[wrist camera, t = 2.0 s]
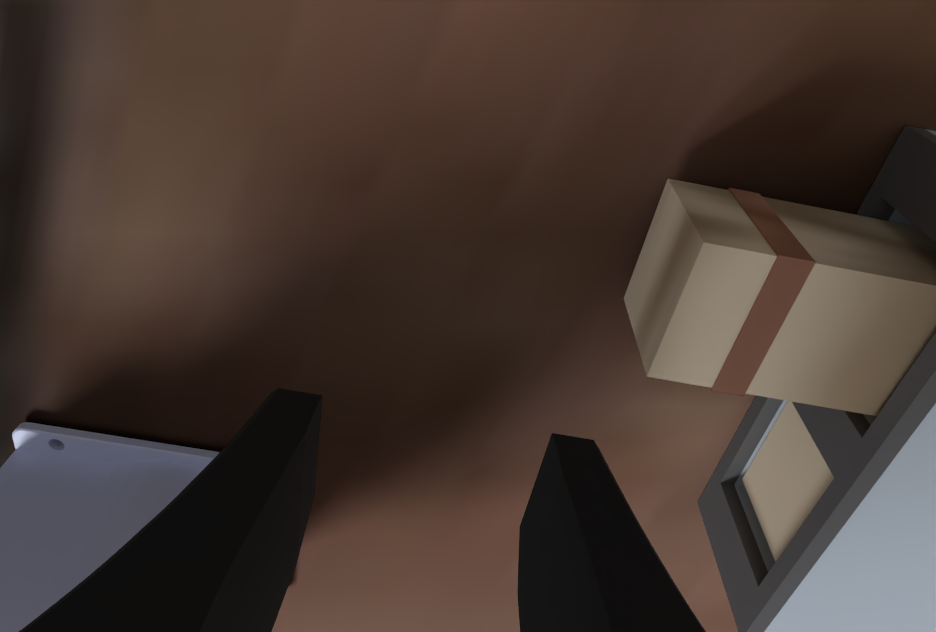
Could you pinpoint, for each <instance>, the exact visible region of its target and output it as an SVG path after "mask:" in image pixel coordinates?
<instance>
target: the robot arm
mask: <svg viewBox="0 0 936 632" xmlns="http://www.w3.org/2000/svg"><path fill="white" fill-rule="evenodd" d="M321 407H322V395H316V394H310V393H304V392H298V391H291V390H285V389H277V390H276V391H274V392H272V393H271V394H270V395H269V396H268V397H267V399H266V400H265V401H264V403H263V404H262V405H261V406H260V407H259V409H258V410H257V411H256V412H255V413H254V415H253V416H252V417H251V418H250V419H249V420H248V422H247V423H246V424H245V425H244V426H243V427H242V428H241V430H240V431H239V432H238V433H237V434H236V435H235V436H234V437H233V439H232V440H231V441H230V442H229V443H228V444H227V445H226V446H225V447H224V448H223V449H222V450H221V452H216V451H209V450H203V449H196V448H190V447H184V446H177V445H171V444H165V443H158V442H152V441H145V440H139V439H133V438H126V437H120V436H113V435H107V434H101V433H94V432H88V431H82V430H75V429H69V428H62V427H56V426H50V425H43V424H37V423H30V422H24V423H21V424H20V425H19V426H18V427H17V428H16V429H15V430H14V432H13V433H12V438H13V441H14V445H15V449H16V450H15V451H14V452H13V454H12V455H11V456H10V457H9V458H8V460H7V461H6V462H5V463H4V464H3V465H2V467H1V468H0V632H271V631H272V628H273V626H274V623H275V620H276V618H277V615H278V612H279V609H280V607H281V604H282V601H283V599H284V596H285V593H286V590H287V588H288V585H289V582H290V580H291V577H292V574H293V571H294V569H295V566H296V563H297V560H298V556H299V552H300V548H301V544H302V541H303V537H304V533H305V529H306V525H307V521H308V517H309V513H310V509H311V505H312V501H313V497H314V491H315V479H316V467H317V455H318V443H319V431H320V419H321ZM518 606H519V619H520V632H706V631H705V630H704V628H703V627H702V625H701V624H700V622H699V621H698V619H697V618H696V616H695V615H694V613H693V612H692V610H691V609H690V607H689V606H688V604H687V602H686V601H685V599H684V598H683V596H682V595H681V593H680V591H679V590H678V588H677V587H676V585H675V583H674V582H673V580H672V578H671V577H670V575H669V573H668V572H667V570H666V568H665V567H664V565H663V563H662V562H661V560H660V558H659V557H658V555H657V553H656V552H655V550H654V548H653V547H652V545H651V543H650V542H649V540H648V538H647V536H646V535H645V533H644V531H643V529H642V528H641V526H640V524H639V522H638V521H637V519H636V517H635V515H634V513H633V511H632V510H631V508H630V506H629V504H628V502H627V501H626V499H625V497H624V495H623V493H622V491H621V489H620V488H619V486H618V484H617V482H616V480H615V478H614V476H613V474H612V473H611V471H610V469H609V467H608V465H607V463H606V461H605V459H604V457H603V455H602V453H601V451H600V450H599V448H598V446H597V445H596V443H595V442H594V440H590V439H584V438H578V437H572V436H566V435H560V434H554V433H552V435H551V438H550V441H549V444H548V446H547V449H546V452H545V455H544V458H543V461H542V464H541V467H540V470H539V473H538V475H537V478H536V481H535V484H534V487H533V490H532V493H531V496H530V499H529V502H528V504H527V507H526V510H525V513H524V516H523V519H522V522H521V525H520V539H519V563H518Z"/></svg>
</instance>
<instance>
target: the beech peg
mask: <svg viewBox="0 0 936 632" xmlns="http://www.w3.org/2000/svg"><path fill="white" fill-rule="evenodd" d="M624 302H625V305H626V308H627V312H628V315H629V318H630V322H631V325H632V329H633V332H634V335H635V339H636V342H637V345H638V349H639V352H640V356H641V359H642V362H643V366H644V369H645V372H646V376H647V377H652V378H658V379H664V380H669V381H675V382H681V383H687V384H693V385H698V386H704V387H710V388H711V391H716V392H722V393H728V394H734V395H739V396H744V395H745V394H751V395H757V396H763V397H768V398H774V399H780V400H786V401H792V402H797V403H803V404H809V405H815V406H821V407H827V408H832V409H838V410H844V411H850V412H856V413H862V414H867V415H873V416H878V414H879V413H880V411H881V410H882V408H883V407H884V406H885V404H886V403H887V401H888V400H889V398H890V397H891V396H892V394H893V393H894V391H895V390H896V388H897V387H898V386H899V384H900V383H901V381H902V380H903V378H904V377H905V375H906V374H907V373H908V371H909V370H910V368H911V367H912V365H913V364H914V363H915V361H916V360H917V358H918V357H919V355H920V354H921V352H922V351H923V350H924V348H925V347H926V345H927V344H928V342H929V341H930V340H931V338H932V337H933V335H934V334H935V332H936V243H935V242H934V241H933V240H931V239H930V238H929V237H928V236H927V235H926V234H924V233H923V232H922V231H921V230H920V229H918V228H917V227H916V226H912V225H906V224H901V223H896V222H891V221H886V220H880V219H875V218H870V217H865V216H860V215H855V214H849V213H844V212H839V211H834V210H829V209H824V208H818V207H813V206H808V205H803V204H798V203H792V202H787V201H782V200H777V199H772V198H767V197H762V196H761V195H760V193H754V192H749V191H744V190H739V189H734V188H729V189H728V190H725V189H720V188H715V187H710V186H704V185H699V184H694V183H689V182H684V181H679V180H673V179H667V182H666V185H665V187H664V190H663V193H662V196H661V198H660V201H659V204H658V206H657V209H656V212H655V215H654V217H653V220H652V223H651V225H650V228H649V231H648V234H647V236H646V239H645V242H644V244H643V247H642V250H641V253H640V255H639V258H638V261H637V263H636V266H635V269H634V271H633V274H632V277H631V280H630V282H629V285H628V288H627V290H626V293H625V296H624Z"/></svg>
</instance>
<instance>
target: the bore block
mask: <svg viewBox="0 0 936 632" xmlns="http://www.w3.org/2000/svg"><path fill="white" fill-rule="evenodd" d="M856 215H860V216H865V217H870V218H875V219H880V220H886V221H891V222H896V223H901V224H906V225H912V226H916V227H917V228H918V229H920V230H921V231H922V232H923V233H924V234H926V235H927V236H928V237H929V238H930V239H931V240H933V241H934V242H935V243H936V131H933V130H928V129H923V128H918V127H913V126H908V125H905V126H904V128H903V130H902V132H901V134H900V135H899V137H898V139H897V141H896V143H895V145H894V146H893V148H892V150H891V152H890V154H889V155H888V157H887V159H886V161H885V163H884V165H883V166H882V168H881V170H880V172H879V174H878V175H877V177H876V179H875V181H874V183H873V184H872V186H871V188H870V190H869V192H868V194H867V195H866V197H865V199H864V201H863V203H862V204H861V206H860V208H859V210H858V212H857V214H856ZM698 505H699V508H700V512H701V515H702V518H703V521H704V524H705V527H706V530H707V534H708V537H709V540H710V543H711V546H712V549H713V553H714V556H715V559H716V562H717V565H718V568H719V571H720V575H721V578H722V581H723V584H724V587H725V590H726V593H727V597H728V600H729V603H730V606H731V609H732V612H733V615H734V619H735V622H736V625H737V628H738V631H739V632H936V332H935V334H934V335H933V337H932V338H931V340H930V341H929V342H928V344H927V345H926V347H925V348H924V350H923V351H922V352H921V354H920V355H919V357H918V358H917V360H916V361H915V363H914V364H913V365H912V367H911V368H910V370H909V371H908V373H907V374H906V375H905V377H904V378H903V380H902V381H901V383H900V384H899V386H898V387H897V388H896V390H895V391H894V393H893V394H892V396H891V397H890V398H889V400H888V401H887V403H886V404H885V406H884V407H883V408H882V410H881V411H880V413H879V414H878V416H873V415H867V414H862V413H856V412H850V411H844V410H838V409H832V408H827V407H821V406H815V405H809V404H803V403H797V402H792V401H786V400H780V399H774V398H768V397H763V396H757V395H756V397H755V399H754V401H753V402H752V404H751V406H750V408H749V410H748V411H747V413H746V415H745V417H744V419H743V421H742V422H741V424H740V426H739V428H738V430H737V431H736V433H735V435H734V437H733V439H732V441H731V442H730V444H729V446H728V448H727V450H726V451H725V453H724V455H723V457H722V459H721V460H720V462H719V464H718V466H717V468H716V470H715V471H714V473H713V475H712V477H711V479H710V480H709V482H708V484H707V486H706V488H705V490H704V491H703V493H702V495H701V497H700V499H699V500H698Z"/></svg>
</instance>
